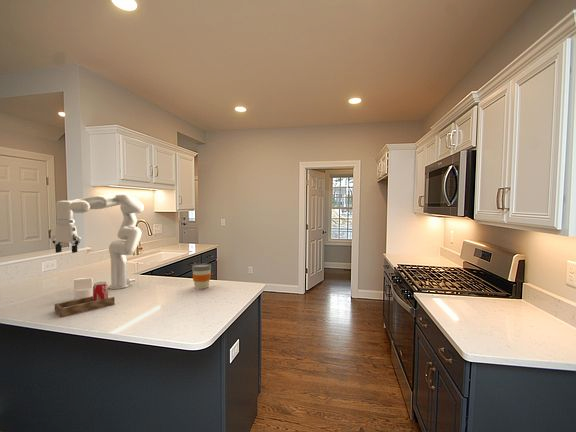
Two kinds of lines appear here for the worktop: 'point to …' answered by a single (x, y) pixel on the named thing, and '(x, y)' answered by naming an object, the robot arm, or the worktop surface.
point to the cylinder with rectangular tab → (83, 288)
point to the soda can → (100, 291)
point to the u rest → (81, 305)
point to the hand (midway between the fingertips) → (66, 252)
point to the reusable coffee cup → (201, 275)
